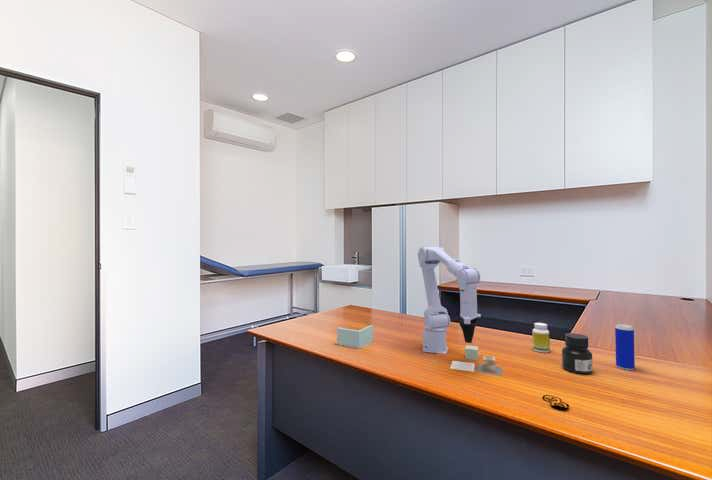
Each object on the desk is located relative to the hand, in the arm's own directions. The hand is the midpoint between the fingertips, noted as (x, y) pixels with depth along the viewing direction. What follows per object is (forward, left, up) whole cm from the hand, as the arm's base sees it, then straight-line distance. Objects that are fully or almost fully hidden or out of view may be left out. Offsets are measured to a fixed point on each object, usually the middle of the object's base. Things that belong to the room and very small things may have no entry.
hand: (469, 339), depth 117 cm
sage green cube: (0, +10, -11) cm, 15 cm away
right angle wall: (-51, +13, -11) cm, 53 cm away
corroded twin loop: (+24, -18, -11) cm, 32 cm away
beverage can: (+51, +20, -11) cm, 56 cm away
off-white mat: (-3, 0, -10) cm, 11 cm away
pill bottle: (+26, +30, -11) cm, 41 cm away
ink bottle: (+35, +12, -11) cm, 39 cm away
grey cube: (+6, 0, -10) cm, 12 cm away
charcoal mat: (+6, 0, -10) cm, 12 cm away
